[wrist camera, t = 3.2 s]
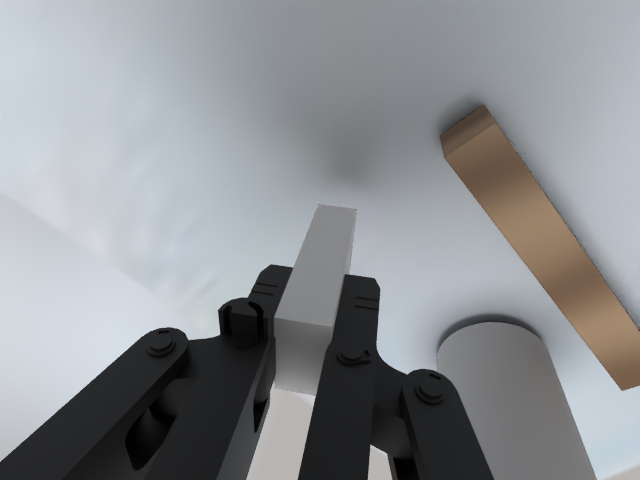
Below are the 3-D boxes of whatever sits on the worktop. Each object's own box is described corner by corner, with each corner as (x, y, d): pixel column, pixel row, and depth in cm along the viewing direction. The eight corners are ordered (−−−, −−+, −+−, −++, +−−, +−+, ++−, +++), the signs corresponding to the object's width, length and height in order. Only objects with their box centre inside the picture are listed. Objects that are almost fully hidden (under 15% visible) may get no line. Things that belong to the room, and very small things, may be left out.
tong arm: (439, 135, 19) (444, 157, 16) (483, 104, 18) (495, 122, 15) (600, 350, 24) (622, 390, 21) (642, 335, 22) (670, 376, 20)
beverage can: (562, 323, 23) (677, 578, 13) (525, 394, 27) (596, 640, 17) (447, 305, 24) (476, 534, 14) (426, 377, 28) (437, 602, 18)
